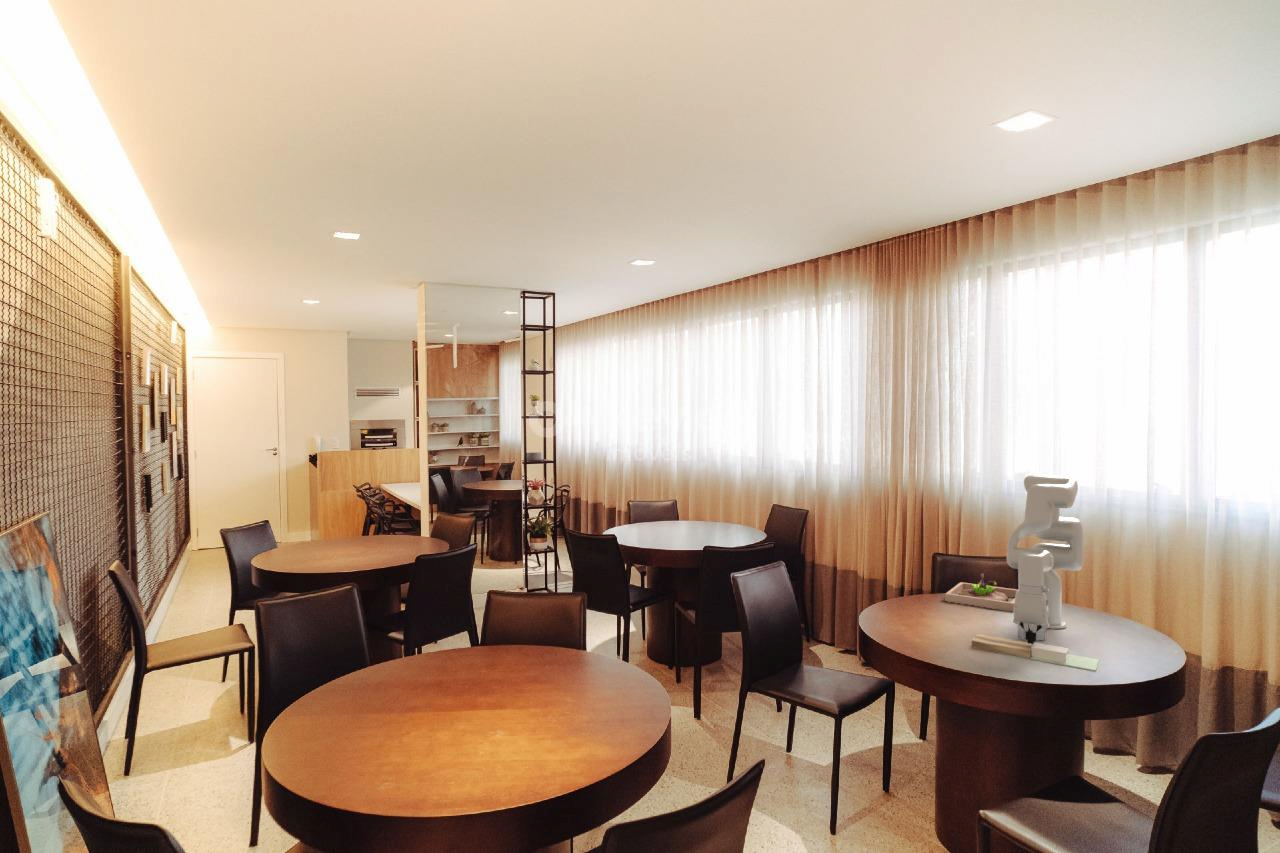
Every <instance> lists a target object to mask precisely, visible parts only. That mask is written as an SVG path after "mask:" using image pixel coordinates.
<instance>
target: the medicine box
mask: <svg viewBox="0 0 1280 853" xmlns="http://www.w3.org/2000/svg"><path fill="white" fill-rule="evenodd" d="M1038 625H1039V624H1038ZM1029 627H1030V630H1032V629H1033V624H1032V623H1029ZM1046 630H1047V628H1046V629H1040V630H1038V631H1037V632H1036V641H1046V639H1047V638H1046V637H1047V636H1046V632H1047V631H1046ZM1017 636H1018V637H1019V638H1020V639H1021V640H1023V641H1027V640H1026V631H1025V630H1024V629H1023V628H1022V627H1021V626H1020V625H1018V624H1017Z"/></svg>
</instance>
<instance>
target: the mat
mask: <svg viewBox="0 0 1280 853" xmlns="http://www.w3.org/2000/svg"><path fill="white" fill-rule="evenodd" d="M1030 659H1031V661H1036V662H1037V661H1038V662H1044V663H1048V664H1053V665H1060V666H1066V667H1068V668H1069V667H1070V668H1071V667H1072V668H1076V669H1081V670H1087V671H1090V672H1091V671H1093V672H1096V671H1097V667H1098V665H1099V662H1100V659H1098V658H1092V657H1087V656H1082V655H1081V656H1080V655H1075V654H1069V657H1068V660H1067V662H1061V661H1055V660H1050V659H1045V658H1039V657H1034V656H1031V657H1030Z"/></svg>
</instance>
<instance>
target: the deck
mask: <svg viewBox="0 0 1280 853" xmlns="http://www.w3.org/2000/svg"><path fill="white" fill-rule="evenodd" d="M1032 645H1033V644H1031V643H1030V644H1028V641H1025V640H1023V641H1021V640H1017V639H1011V638H1006V637H1005V638H1004V637H1000V636H995V635H994V636H993V635H989V634H983V633H982V634H981V633H977V634H976V635H975V637H973V639H972V640H971V649H972V648H973V649H978V650H983V651H988V652H994V653H999V654H1004V655H1008V656H1009V655H1010V656H1016V657H1021V658H1027V659H1031V658H1032V656H1031V647H1032Z"/></svg>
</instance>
